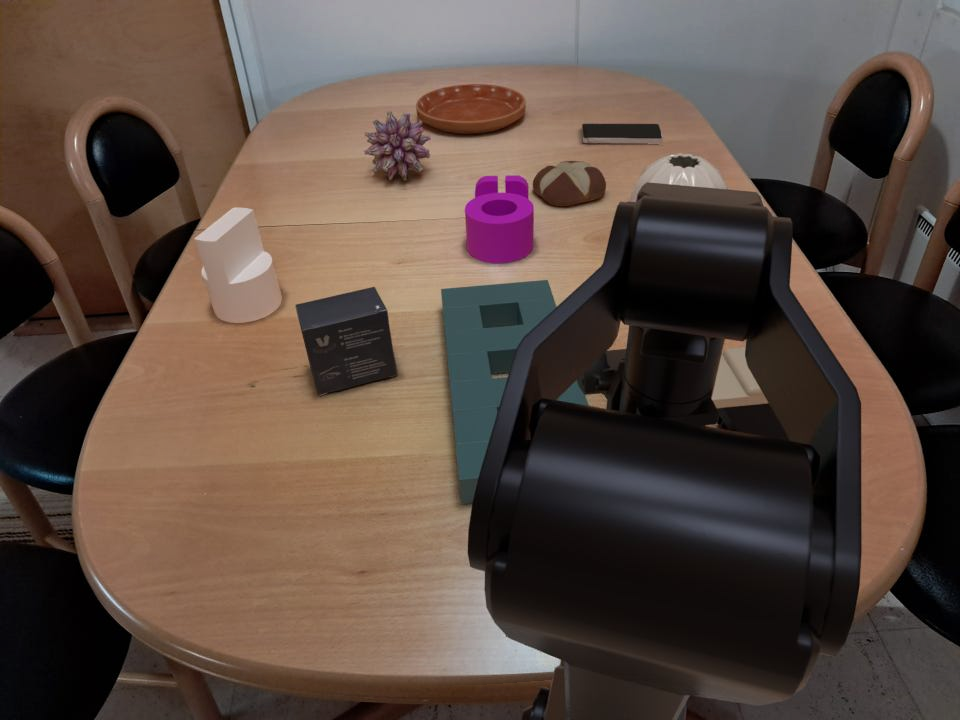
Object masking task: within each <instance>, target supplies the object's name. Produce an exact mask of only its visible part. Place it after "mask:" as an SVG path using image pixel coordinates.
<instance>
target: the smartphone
mask: <svg viewBox="0 0 960 720" xmlns="http://www.w3.org/2000/svg"><path fill="white" fill-rule="evenodd" d="M581 135H582V136H581V137H582V143H584V144H655V145H656V144H663V141H664V136H663V133H662V131H661V128H660V124H659V123H582V124H581Z"/></svg>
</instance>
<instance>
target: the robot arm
mask: <svg viewBox="0 0 960 720" xmlns="http://www.w3.org/2000/svg"><path fill="white" fill-rule="evenodd" d="M615 209H616V210H615V213H614V216H613V219H612V224H611V228H610V231H609V237H608V240H607V245H606V249H605V254H604V258H603V261H602V264H601V266H599V267H598V268H597V269H596V270H595V271H594V272H593V273H592V274H590V276H589V277H588V278H586V279H585V281H583V282H582V283H581V284H580V285H579V286H578V287H576V289H574V290H573V291H572V292H571V293H570V294H569V295H568V296H567V297H565V299H564V300H562V301H561V302H560V303H559V304H558V305H556V308H555V309H554V310H553V311H552V312H551V313H549V314H548V315H547V316H546V317H545V318H544V319H543V320H542V321H541V322H540V323H539V324H537V325H536V326H535V327H534V328H533V329H532V330H531V331H530V332H529V333H528V334H527V335H525V336H524V337H523V339H522V340H521V342H520V344H519V345H518V347H517V348H516V351H515V355H514V358H513V361H512V365H511V368H510V372H509V373H508V375H507V377H508V378H507V382H506V385H505V389H504V392H503V395H502V399H501V402H500V406H499V409H498V412H497V416H496V419H495V423H494V426H493V429H492V433H491V436H490V440H489V443H488V446H487V450H486V453H485V457H484V460H483V463H482V467H481V470H480V474H479V478H478V482H477V486H476V490H475V494H474V498H473V503H471V510H470V517H469V523H468V530H467V531H468V532H467V558H468V563H469V567H470V568H472V569H474V570H477V571H481V572H484V587H483V588H484V589H483V590H484V598H485V607H486V609H487V612H488V613H489V615H490V617H491V619H492V621H493V623H494V624H495V625H496V626H497V627H498V628H499V629H500V630H501V631H502V633H503V634H504V635H505V636H506V637H507V638H508V639H510V640H512V641H514V642H517V643H520V644H522V645H524V646H526V647H529V648H531V649H534V650H536V651H539V652H541V653H543V654H546V655H548V656H551V657H553V658H555V659H558V660H560V661H559V665H557V666H555V668H554V669H553V674H552V679H551V682H550V683H551V684H550V688H549V687H546V686H542V685H541V687H540V688H539V691H538V692H536V695H535V698H534V700H533V704H532V705H530V706H529V707H527V708H526V709H525V708H524V710H523V712H522V716H521V720H686V715H687V707H688V704H687V701H688V700H689V698H690V696H692V697H698V698H704V699H711V700H717V701H718V700H719V701H724V702H731V703H736V704H737V703H738V704H745V705H751V706H759V707H760V706H761V707H762V706H766V705H771V704H774V703H779V702H784V701H787V700H789V699H791V698H792V697H794V696H795V695H796V694H797V693H799V692H800V691H801V690H803V689H804V688H805V687H806V685H807V683H808V682H809V680H810V678H811V676H812V674H813V672H814V670H815V667H816V664H817V662H818V660H819V659H818V658H819V656H820V655H824V656H827V657H828V656H829V657H836V656H837V655H838V654H839V653H840V651H841V650H842V649H843V648H844V646H845V645H846V643H847V640H848V637H849V633H850V631H851V629H852V625H853V623H854V619H855V615H856V609H857V603H858V597H859V592H860V586H861V585H860V584H861V570H862V569H861V568H862V551H863V550H862V549H863V548H862V542H863V541H862V540H863V537H862V536H863V535H862V534H863V533H862V529H863V528H862V526H863V525H862V521H863V519H862V517H863V516H862V515H863V514H862V513H863V512H862V401H861V397H860V395H859V392H858V389H857V387H856V385H855V384H854V381H853V380H852V379H851V377H850V376H849V375H848V373H847V371H846V370H845V368H844V367H843V366H842V364H841V362H840V361H839V359H838V358H837V357H836V355H835V354H834V352H833V350H832V349H831V347H830V346H829V345H828V343H827V341H826V340H825V338H824V337H823V335H822V334H821V333H820V331H819V329H818V328H817V326H816V325H815V324H814V322H813V320H812V319H811V318H810V316H809V314H808V313H807V312H806V310H805V308H804V307H803V305H802V304H801V303H800V300H798V298H797V296H796V295H795V293H794V292H793V291H792V288H791V271H792V256H793V255H792V253H793V238H794V237H793V235H794V234H793V233H794V232H793V231H794V229H793V225H794V224H793V220H792V219H791V217H784V216H783V217H782V216H774V215H773V214H772V212H771V211H770V210H769V208H768V207H767V206H764V203H763V200H762V197H761V195H760V194H759V193H758V192H757V191H750V190H749V191H748V190H737V189H728V188H727V189H717V188H705V187H694V186H683V185H672V184H661V183H649V182H647V183H646V184H644V185H643V186H642V187H641V189H640V191H639V192H638V194H637V200H636V202H629V200H628V201H619V203H618V204H617V205H616V208H615ZM621 322H622V325H624V326H628V330H627V340H626V347H625V348H620V349H610V348H611V347H612V346H613V345H614V343H615V341H616V340H617V338H618V336H619V331H620V325H621ZM726 340H730V341H735V342H744V341H745V347H746V348H745V358H746V362H747V366H748V368H749V370H750V371H751V373H752V375H753V377H754V378H755V380H756V382H757V384H758V385H759V387H760V389H761V391H762V392H763V394H764V396H765V398H766V399H767V401H768V403H766V404H756V405H745V406H734V407H724V408H716V406H715V404H714V402H713V400H712V395H713V390H714V386H715V381H716V376H717V372H718V368H719V363H720V359H721V355H722V354H723V351H724V345H725V341H726ZM609 349H610V350H609ZM576 380H577V383H578V386H579V387H580V389H581V391H582V392H583V394H584V395H585V396H589V395H602V396H604V397H605V399H606V407H605V408H604V407H597V406H592V405H589V406H587V405H581V404H575V403H570V402H564V401H558V400H557V399H558V398H559V397H560V396H561V395H562V394H563V393H564V392H565V391H566V390H567V389H568V388H569V387H570V386H571V385H572V384H573V383H574V382H575V381H576Z"/></svg>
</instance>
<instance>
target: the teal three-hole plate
mask: <svg viewBox="0 0 960 720" xmlns="http://www.w3.org/2000/svg"><path fill="white" fill-rule="evenodd" d="M440 294H441V295H440V296H441V306H442V316H443V326H444V327H443V328H444V339H445V348H446V357H447V369H448V379H449V380H448V381H449V389H450V400H451V410H452V411H451V412H452V421H453V431H454V443H455V453H456V464H457V473H458V485H459V494H460V503H461V505H469V504H472V503H473V498H474V494H475V490H476V486H477V482H478V478H479V474H480V470H481V467H482V463H483V460H484V457H485V453H486V450H487V446H488V443H489V440H490V436H491V433H492V429H493V426H494V423H495V419H496V416H497V412H498V409H499V406H500V402H501V399H502V395H503V392H504V389H505V385H506V382H507V378H508V376H507V377H498V378H497V377H496V378H493V377H492V376H493V375H501V374H509V372H510V368H511V365H512V361H513V358H514V355H515V351H516V348H517V347H518V345H519V344H520V342H521V340H522V339H523V337H524V336H525V335H527V334H528V333H529V332H530V331H531V330H532V329H533V328H534V327H535V326H536V325H537V324H539V323H540V322H541V321H542V320H543V319H544V318H545V317H546V316H547V315H548V314H549V313H551V312H552V311H553V310H554V309H555V308H556V307H557V304H556V301H555V298H554V294H553V292H552V289H551V286H550V283H549V279H541V280H540V279H539V280H529V281H518V282H505V283H494V284H482V285H471V286H459V287H458V286H457V287H447V288H441V289H440ZM557 400H558V401H564V402H570V403H575V404H581V405H587V406H590V405H589V402H588V399H587V395H584V394H583V392H582V391H581V389H580V387H579V386H578V383H577V380H576V381H575V382H574V383H573V384H572V385H571V386H570V387H569V388H568V389H567V390H566V391H565V392H564V393H563V394H562V395H561V396H560V397H559V398H558V399H557Z"/></svg>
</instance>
